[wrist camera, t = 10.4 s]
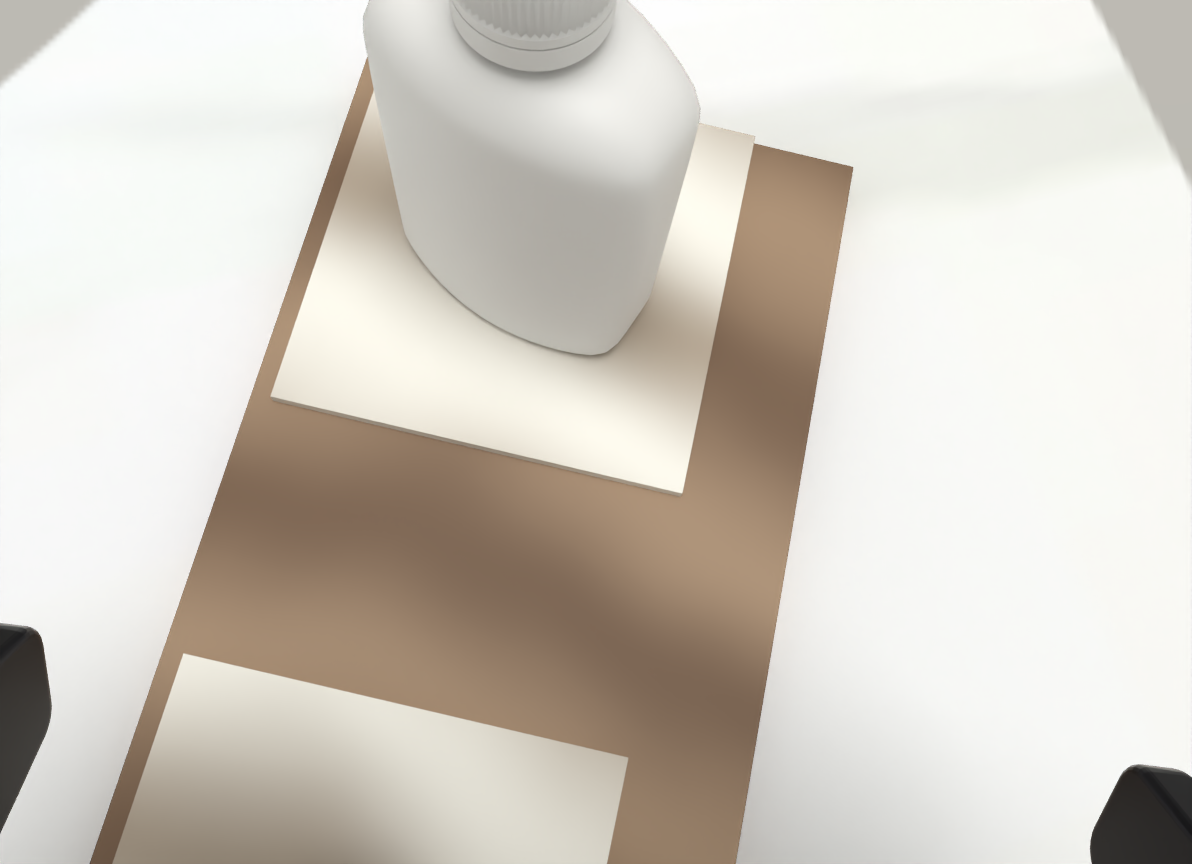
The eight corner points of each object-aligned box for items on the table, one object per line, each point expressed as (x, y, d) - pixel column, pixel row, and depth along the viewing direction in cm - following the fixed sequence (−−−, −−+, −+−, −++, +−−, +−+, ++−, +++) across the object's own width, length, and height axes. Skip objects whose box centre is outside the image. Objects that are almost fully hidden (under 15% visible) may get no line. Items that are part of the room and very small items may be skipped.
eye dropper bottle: (555, 129, 25) (588, -411, 13) (672, 327, 23) (821, -78, 12) (384, 202, 24) (260, -309, 12) (496, 412, 22) (475, 62, 11)
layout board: (647, 1328, 19) (654, 1361, 18) (-3, 1176, 19) (-34, 1202, 18) (843, 184, 26) (857, 160, 25) (373, 72, 26) (367, 44, 25)
